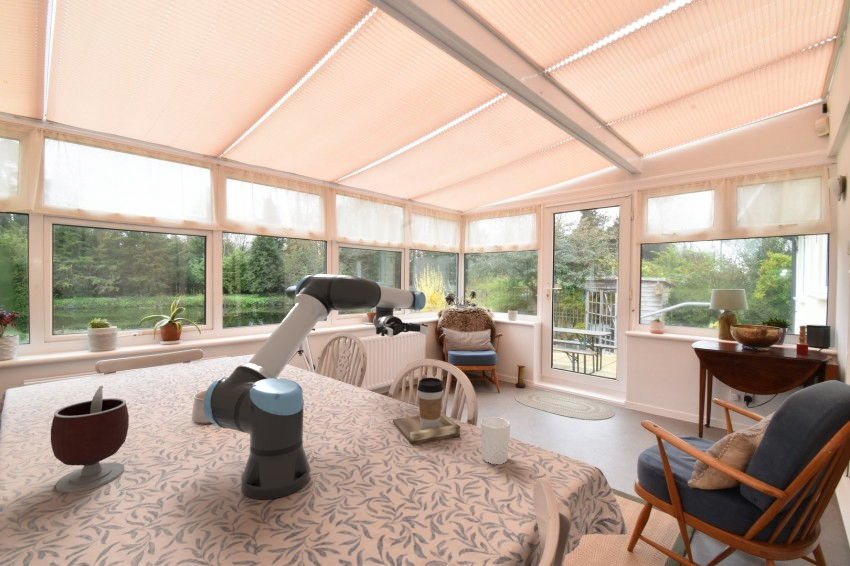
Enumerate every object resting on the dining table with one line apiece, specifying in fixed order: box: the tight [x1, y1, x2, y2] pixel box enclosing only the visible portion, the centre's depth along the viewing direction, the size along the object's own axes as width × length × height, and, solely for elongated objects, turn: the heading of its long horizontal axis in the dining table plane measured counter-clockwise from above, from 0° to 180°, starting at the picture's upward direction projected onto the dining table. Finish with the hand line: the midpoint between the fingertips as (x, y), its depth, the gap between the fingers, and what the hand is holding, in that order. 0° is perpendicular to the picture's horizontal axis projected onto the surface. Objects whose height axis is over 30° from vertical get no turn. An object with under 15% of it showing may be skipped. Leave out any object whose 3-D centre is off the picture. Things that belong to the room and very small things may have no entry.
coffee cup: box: [416, 377, 444, 430], centre depth 118 cm, size 8×8×15 cm
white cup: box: [480, 416, 511, 465], centre depth 101 cm, size 8×8×10 cm
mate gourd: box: [50, 385, 130, 493], centre depth 89 cm, size 16×14×20 cm
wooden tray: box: [392, 411, 461, 446], centre depth 120 cm, size 16×18×3 cm
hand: (410, 332), depth 130 cm, fingers open, 13 cm apart
